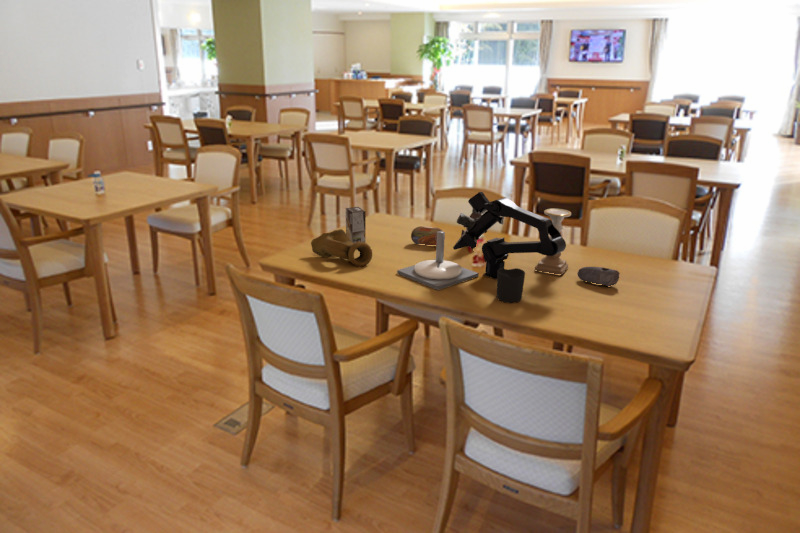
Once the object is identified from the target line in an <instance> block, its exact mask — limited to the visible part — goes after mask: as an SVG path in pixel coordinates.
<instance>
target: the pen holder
mask: <svg viewBox="0 0 800 533" xmlns="http://www.w3.org/2000/svg"><path fill="white" fill-rule="evenodd" d="M525 276H526V272H525V270H523V269H521V268H510V269H508V268H507V269H506V268H504V269H503V268H500V269H498V270H497V279H496V298H497V300H498V299H499V301H500V302H502V301H503V303H506V302H509V303H508V304H514V303H513V302H516V303H519V302H520V301H522V298H523V291H524V284H525ZM518 301H519V302H518Z"/></svg>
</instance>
